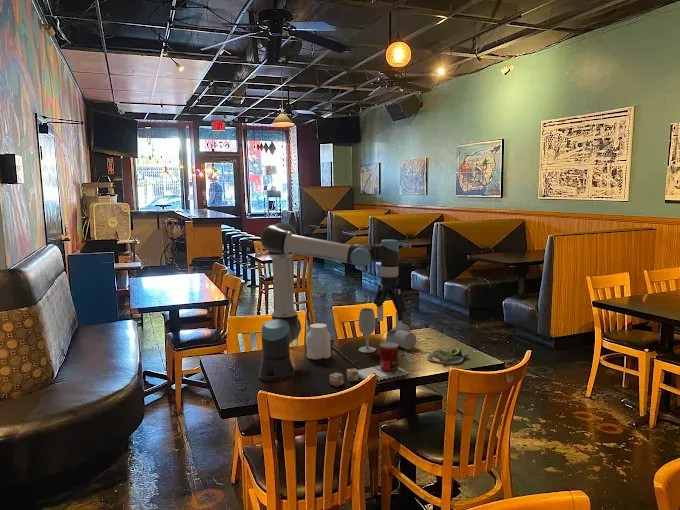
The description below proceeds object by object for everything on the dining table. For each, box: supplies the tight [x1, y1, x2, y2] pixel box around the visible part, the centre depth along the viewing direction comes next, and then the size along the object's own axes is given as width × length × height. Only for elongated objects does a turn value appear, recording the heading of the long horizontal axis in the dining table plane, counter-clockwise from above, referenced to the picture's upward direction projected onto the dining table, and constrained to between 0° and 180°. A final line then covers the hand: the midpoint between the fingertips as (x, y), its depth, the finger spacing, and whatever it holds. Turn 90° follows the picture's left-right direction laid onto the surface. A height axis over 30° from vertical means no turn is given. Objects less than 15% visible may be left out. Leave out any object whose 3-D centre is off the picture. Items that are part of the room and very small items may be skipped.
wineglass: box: [357, 307, 377, 354], centre depth 251 cm, size 9×9×21 cm
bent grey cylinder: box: [385, 322, 417, 351], centre depth 263 cm, size 18×10×20 cm
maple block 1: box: [328, 372, 344, 388], centre depth 208 cm, size 4×4×4 cm
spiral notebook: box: [357, 365, 410, 382], centre depth 220 cm, size 20×14×1 cm
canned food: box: [379, 341, 399, 372], centre depth 221 cm, size 8×8×11 cm
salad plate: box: [426, 346, 469, 365], centre depth 237 cm, size 19×18×5 cm
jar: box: [305, 323, 332, 360], centre depth 244 cm, size 12×10×15 cm
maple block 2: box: [346, 368, 359, 382], centre depth 213 cm, size 4×4×4 cm
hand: (389, 324), depth 220 cm, fingers open, 13 cm apart
